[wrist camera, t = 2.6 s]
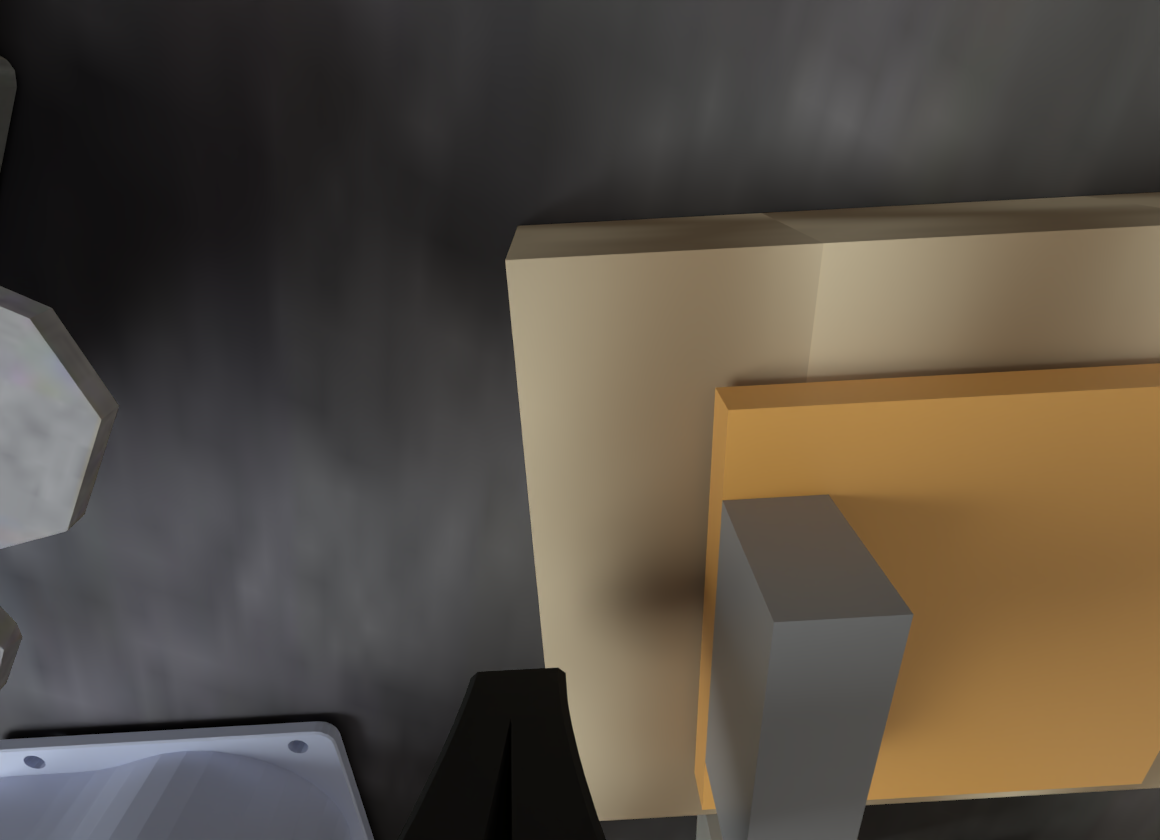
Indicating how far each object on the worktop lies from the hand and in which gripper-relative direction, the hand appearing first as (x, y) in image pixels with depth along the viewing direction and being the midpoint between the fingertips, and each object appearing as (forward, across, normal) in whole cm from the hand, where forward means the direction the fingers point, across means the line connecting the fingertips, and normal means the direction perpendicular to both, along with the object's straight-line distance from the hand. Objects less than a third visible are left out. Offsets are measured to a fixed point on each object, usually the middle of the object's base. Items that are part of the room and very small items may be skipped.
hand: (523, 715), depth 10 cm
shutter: (+2, -8, 0) cm, 8 cm away
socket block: (+5, -8, 0) cm, 9 cm away
